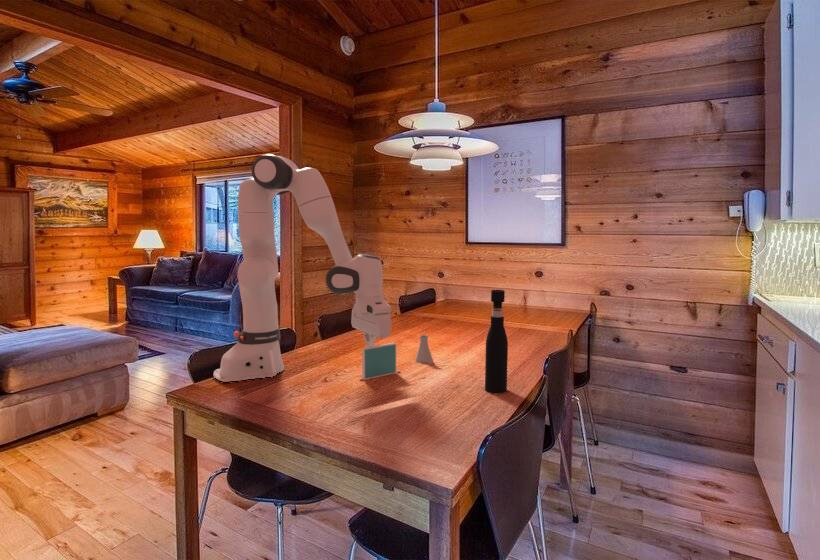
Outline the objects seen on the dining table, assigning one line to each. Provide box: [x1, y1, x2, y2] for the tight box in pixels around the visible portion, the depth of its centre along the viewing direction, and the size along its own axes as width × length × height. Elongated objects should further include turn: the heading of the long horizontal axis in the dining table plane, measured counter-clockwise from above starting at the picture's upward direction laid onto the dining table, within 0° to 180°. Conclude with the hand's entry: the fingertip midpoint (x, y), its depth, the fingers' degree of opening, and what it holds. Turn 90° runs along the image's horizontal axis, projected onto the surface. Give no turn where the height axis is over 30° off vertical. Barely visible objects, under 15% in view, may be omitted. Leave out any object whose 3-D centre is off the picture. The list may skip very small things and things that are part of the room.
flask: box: [414, 334, 435, 366], centre depth 167 cm, size 7×7×10 cm
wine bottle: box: [484, 289, 509, 394], centre depth 139 cm, size 6×6×30 cm
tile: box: [361, 341, 398, 381], centre depth 149 cm, size 12×1×10 cm, turn 124°
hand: (370, 345), depth 154 cm, fingers closed
